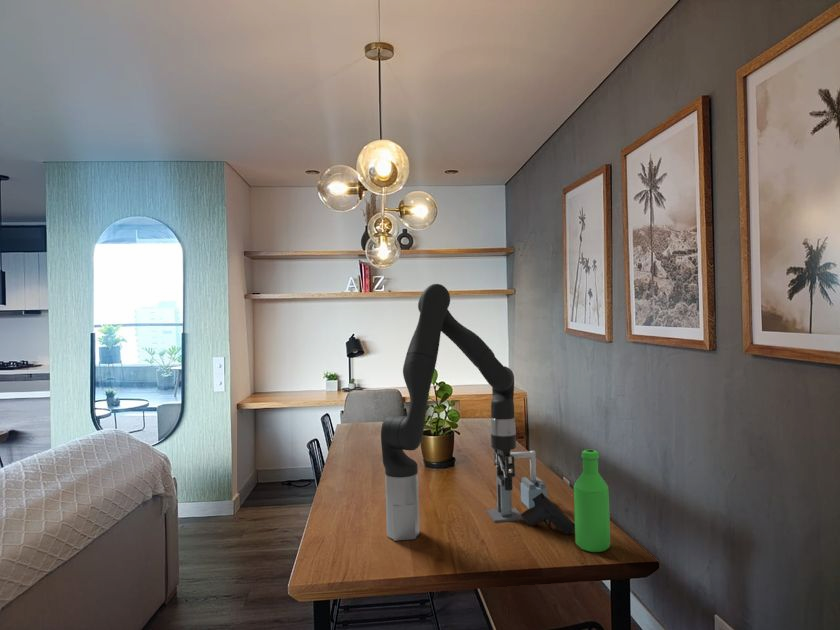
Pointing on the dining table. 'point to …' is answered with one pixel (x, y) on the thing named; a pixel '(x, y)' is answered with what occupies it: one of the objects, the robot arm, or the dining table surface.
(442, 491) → the dining table surface
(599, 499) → the bottle
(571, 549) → the dining table surface
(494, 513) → the mat
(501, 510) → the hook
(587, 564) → the dining table surface
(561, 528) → the handgun
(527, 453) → the grey hanging stand
